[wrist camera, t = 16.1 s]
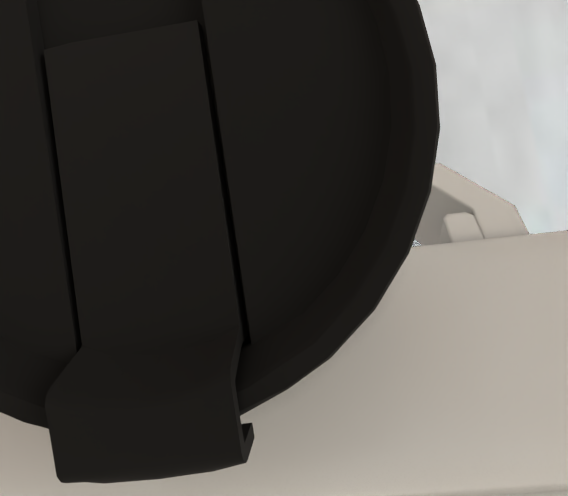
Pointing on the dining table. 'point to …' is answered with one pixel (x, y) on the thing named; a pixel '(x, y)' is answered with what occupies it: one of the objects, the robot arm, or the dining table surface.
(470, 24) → the dining table surface
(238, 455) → the travel mug
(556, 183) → the dining table surface
